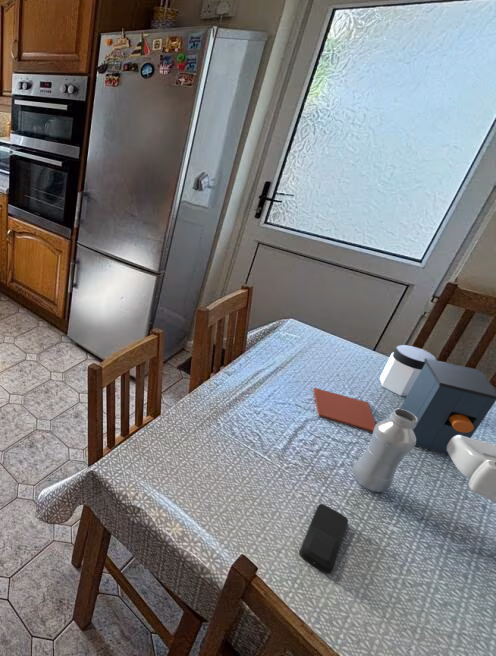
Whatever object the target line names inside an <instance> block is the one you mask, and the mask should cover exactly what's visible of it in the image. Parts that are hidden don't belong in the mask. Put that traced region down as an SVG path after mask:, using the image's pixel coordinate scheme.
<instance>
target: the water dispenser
mask: <svg viewBox="0 0 496 656" xmlns="http://www.w3.org/2000/svg"><path fill="white" fill-rule="evenodd" d="M424 361H425V364H424V366H423V368H422V370H421V372H420V374H419V375H418V377H417V379H416V381H415V383H414V384H413V386H412V388H411V390H410V392H409V393H408V395H407V396H405V399H404V401H403V403H402V404H401V406H400V407H399V409H403V410H406V411H408V412H410V413H412V414H414V415H415V416H416V417H417V419H418V421H417V423H416V426H415V428H414V429H413V431H414V433H415V436H416V445H415V446H418V447H421V448H423V449H428V450H431V451H434V452H437V453H441V454H444V455H447V456H449V454H448V451H447V445H448V443H449V441H450V440H451V439H452V438H453V437H454V436H456V435H462V436H465V437H469V438H472V437H473V435H474V434H475V432H476V431H477V429H478V428H479V426H480V425H481V424H482V422H483V420H484V419H485V418H486V416H487V414H488V413H489V412H490V410H491V409H492V407H493V406H494V404H495V403H496V388H495V387H494V386H493V384H492V383H491V382H490V380H489V379H488V378H487V376H486V375H485V374H484V373H483V371H482V370H481V369H477V368H473V367H468V366H464V365H458V364H455V363H449V362H446V361H442V360H441V361H440V360H437V359H436V360H433V359H428V358H425V360H424ZM454 414H462V415H465V416H467V417H468V418H469V420H470V421H471V423H472V424H473V426H474V429H473V430H472V431H471V432H467V433H462V432H458V431H456V430H455V429H454V428H453V426H452V424H451V423H450V421H449V418H450V416H452V415H454Z"/></svg>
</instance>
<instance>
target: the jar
mask: <svg viewBox="0 0 496 656" xmlns="http://www.w3.org/2000/svg"><path fill="white" fill-rule="evenodd" d="M425 358H428V359H433V360H437V358H436V356H435V355H433V354H432V353H431V352H429V351H427V350H425V349H422V348H419V347H417V346H412V345H408V344H401V345H397V346H396V347H395V349H394V350H393V352H391V354H390V356H389V358H388V360H387V362H386V363H385V366H384V368H383V370H382V372H381V374H380V376H379V381H380V386H381V387H382V388H384V389H386V390H388V391H390V392H392V393H394V394H395V395H398V396H400V397H407V395H408V393H409V392H410V390H411V388H412V386H413V384H414V383H415V381H416V379H417V377H418V375H419V374H420V372H421V370H422V368H423V366H424V364H425V361H424V360H425Z"/></svg>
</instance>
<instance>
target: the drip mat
mask: <svg viewBox="0 0 496 656" xmlns="http://www.w3.org/2000/svg"><path fill="white" fill-rule="evenodd" d="M313 393H314V394H313V395H314V398H315V404H316V409H317V410H316V411H317V415H318V417H320V418H324V419H328V420H330V421H333V422H336V423H337V422H338V423H341V424H344V425H347V426H349V427H354V428H357V429H360V430H364V431H367V432H371V433H373V430H374V427H375V425H376V424H377V423H376V422H375V419H374V416H373V413H372V410H371V407H370V404H369V402H367V401H364V400H361V399H357V398H353V397H349V396H346V395H342V394H339V393H335V392H331V391H327V390H323V389H320V388H317V387H314V388H313Z"/></svg>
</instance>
